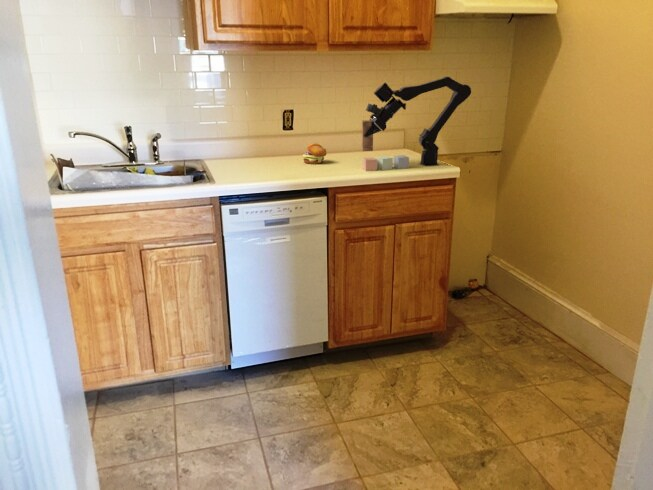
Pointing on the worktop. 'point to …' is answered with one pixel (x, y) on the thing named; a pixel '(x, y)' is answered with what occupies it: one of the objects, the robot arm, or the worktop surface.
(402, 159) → the slate cube
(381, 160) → the sage cube
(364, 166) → the terracotta cube
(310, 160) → the cheeseburger
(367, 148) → the walnut block
